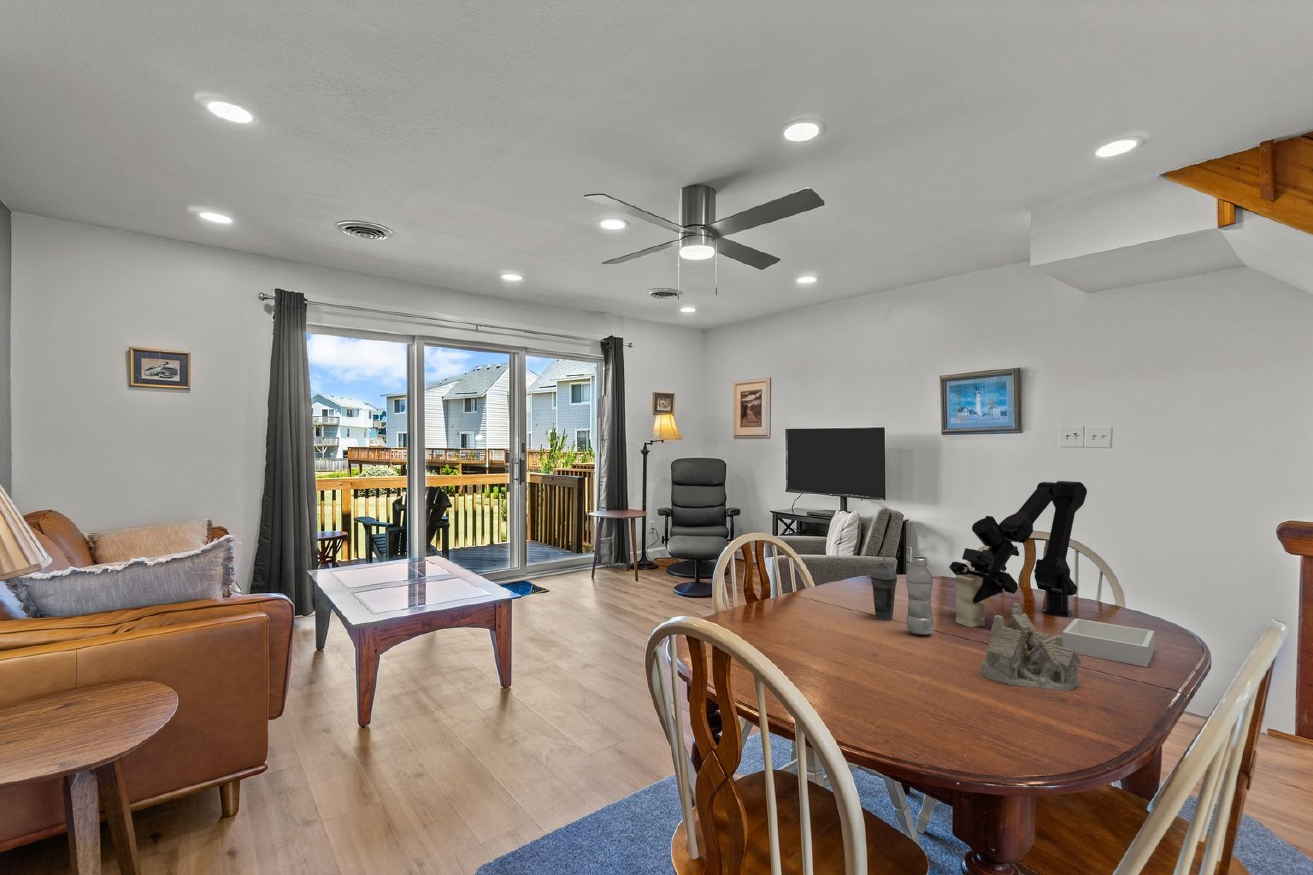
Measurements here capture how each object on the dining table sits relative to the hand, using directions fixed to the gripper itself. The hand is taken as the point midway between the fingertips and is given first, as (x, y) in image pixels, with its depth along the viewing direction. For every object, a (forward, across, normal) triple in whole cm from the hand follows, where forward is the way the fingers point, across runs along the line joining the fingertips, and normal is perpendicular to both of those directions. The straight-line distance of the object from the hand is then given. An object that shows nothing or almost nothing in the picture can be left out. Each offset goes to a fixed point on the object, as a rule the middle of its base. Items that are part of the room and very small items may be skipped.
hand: (966, 599), depth 169 cm
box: (-6, +28, +16) cm, 32 cm away
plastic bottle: (+18, +2, -8) cm, 19 cm away
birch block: (+4, 0, +6) cm, 7 cm away
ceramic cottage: (+18, +34, -8) cm, 39 cm away
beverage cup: (+17, -13, -7) cm, 22 cm away
